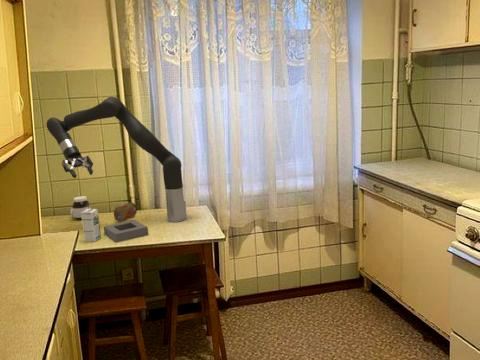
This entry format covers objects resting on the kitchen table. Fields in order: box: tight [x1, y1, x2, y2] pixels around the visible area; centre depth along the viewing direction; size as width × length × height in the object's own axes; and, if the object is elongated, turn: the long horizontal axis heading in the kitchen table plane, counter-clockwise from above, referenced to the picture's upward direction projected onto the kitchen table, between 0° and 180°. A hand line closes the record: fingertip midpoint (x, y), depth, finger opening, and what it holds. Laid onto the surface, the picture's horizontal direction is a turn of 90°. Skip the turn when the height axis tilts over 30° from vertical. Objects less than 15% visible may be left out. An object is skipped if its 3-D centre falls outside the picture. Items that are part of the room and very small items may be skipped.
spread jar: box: [70, 195, 91, 221], centre depth 276 cm, size 12×11×12 cm
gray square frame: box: [103, 219, 149, 243], centre depth 244 cm, size 16×16×4 cm
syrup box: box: [81, 208, 102, 242], centre depth 238 cm, size 6×6×14 cm
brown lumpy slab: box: [113, 202, 138, 223], centre depth 269 cm, size 15×3×8 cm, turn 148°
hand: (83, 175), depth 246 cm, fingers open, 8 cm apart
